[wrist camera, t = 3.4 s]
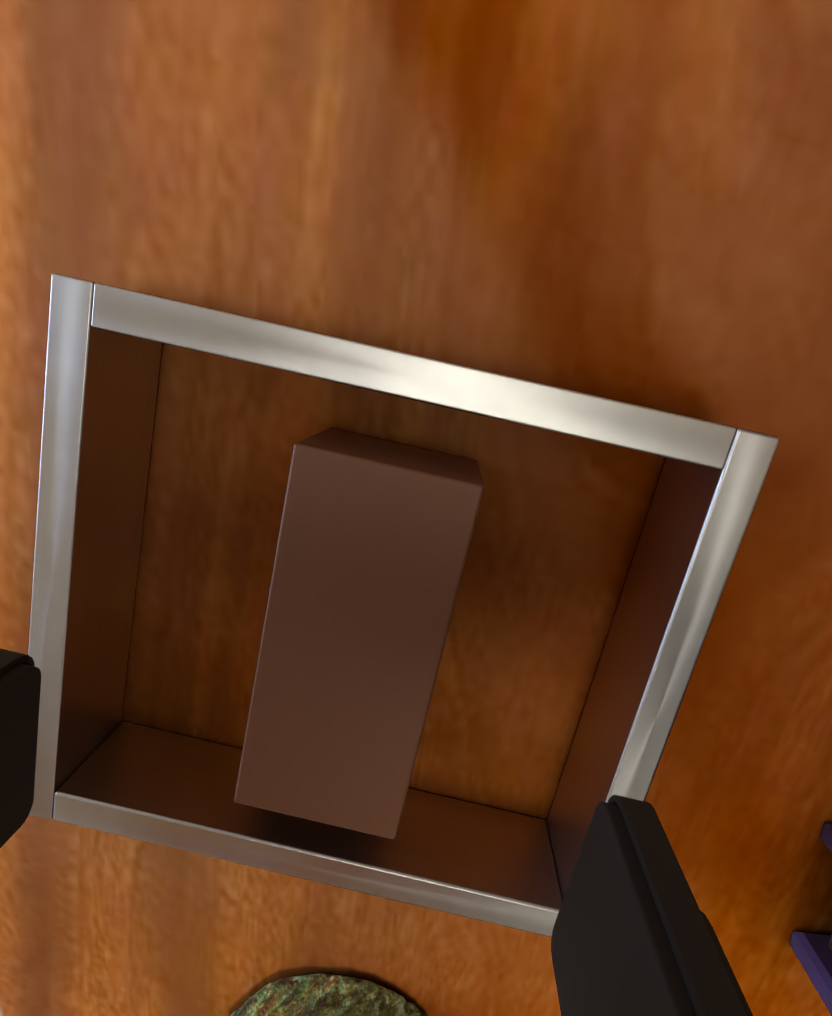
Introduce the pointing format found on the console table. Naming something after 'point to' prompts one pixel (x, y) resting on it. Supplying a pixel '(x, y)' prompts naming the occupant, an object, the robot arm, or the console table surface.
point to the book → (817, 948)
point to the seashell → (326, 998)
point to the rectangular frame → (215, 767)
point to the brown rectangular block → (355, 627)
